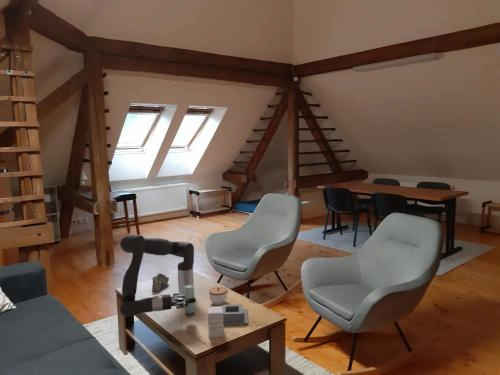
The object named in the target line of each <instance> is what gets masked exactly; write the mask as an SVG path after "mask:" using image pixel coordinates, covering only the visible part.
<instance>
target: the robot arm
mask: <svg viewBox="0 0 500 375" xmlns="http://www.w3.org/2000/svg"><path fill="white" fill-rule="evenodd" d="M119 244H120V246H119V247H120V248H121V250H122V251H123V252H125V253H128V254H132V257H131V258H132V259H131V261H130V264H129V265H128V268H127V269H126V272H125V273H124V276H123V278H122V285H121V286H122V287H121V300H120V306H119V313H120V314H121V316H123V317H124V316H125V317H131V316H136V315H140V314H143V313H144V314H146V313H151V312H160V311H162V312H164V311H167V310H169V311H170V310H171V309H172V307H175V308H176V309H182V308H185V307H186V306H188V304H189V303H195V304H196V302H197V301H196V300H197V299H196V297H194V298H191V299H185V295H184V287H185V286H186V285H193V286H194V287H195V283H194V282H195V280H194V264H195V248H194V247H195V246H194V244H193V243H191V242H186V241H171V240H168V239H165V238H159V237H149V238H146V237H144V236H143V235H140V234H126V235H125V236H123V237H122V238H121V240H120V243H119ZM144 254H148V255H154V256H161V257H162V256H163V257H164V256H167V255H172V256H174V257H178V258H183V259H182V260H183V261H181V262H178V263H177V287H178V288H177V289H178V293H177V292H174V293H173V294H172V296H171V294H169V293H167V294H162V295H161V294H160V295H156V296H152V297H145V298H141V299H137V300H136V293H137V290H138V278H139V274H140V268H141V265H142V262H143V257H144Z"/></svg>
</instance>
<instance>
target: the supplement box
mask: <svg viewBox="0 0 500 375" xmlns="http://www.w3.org/2000/svg"><path fill="white" fill-rule="evenodd" d="M207 322H208V323H207V324H208V325H207V326H208V338H209V339H211V338H224V336H225V335H224V326H223V307H222V305H217V306H208V307H207Z"/></svg>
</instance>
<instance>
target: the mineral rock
mask: <svg viewBox="0 0 500 375" xmlns="http://www.w3.org/2000/svg"><path fill="white" fill-rule="evenodd" d="M169 279H170V277H169V276H166V275H165V274H162V273H160V272H158V274H157V275H156V276H153V277H152V286H151V289H152V291H154V292H159V291H161V290H162V289H163V288H164V287H166V286H167V285H168V284H169Z"/></svg>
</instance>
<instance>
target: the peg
mask: <svg viewBox="0 0 500 375" xmlns="http://www.w3.org/2000/svg"><path fill="white" fill-rule="evenodd" d="M184 295H185V299H191V298H195V285H194V286H193V285H186V286H185V287H184ZM195 307H196V302H195V303H189V304H188V306H186V307H184V311H185V312H184V314H185V316H186V317H194V316H195V315H196V308H195Z"/></svg>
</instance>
